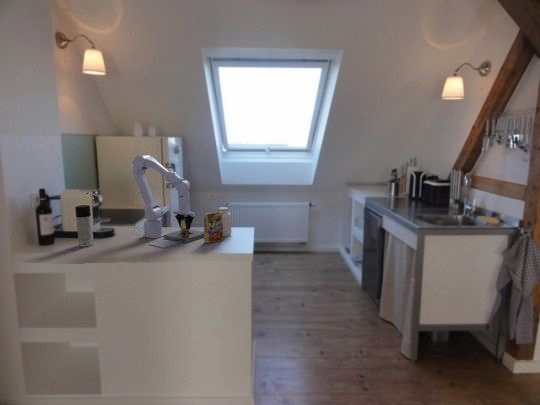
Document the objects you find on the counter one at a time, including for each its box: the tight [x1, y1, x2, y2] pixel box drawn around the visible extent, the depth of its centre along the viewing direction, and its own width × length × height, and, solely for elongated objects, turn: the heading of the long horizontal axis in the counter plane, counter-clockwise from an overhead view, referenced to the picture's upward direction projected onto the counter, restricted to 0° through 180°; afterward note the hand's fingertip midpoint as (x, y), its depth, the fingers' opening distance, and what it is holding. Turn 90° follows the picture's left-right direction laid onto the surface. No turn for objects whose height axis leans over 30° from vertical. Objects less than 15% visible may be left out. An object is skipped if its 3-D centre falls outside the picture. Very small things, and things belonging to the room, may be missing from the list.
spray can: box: [74, 204, 94, 248], centre depth 188 cm, size 7×7×20 cm
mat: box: [149, 239, 180, 249], centre depth 191 cm, size 10×10×1 cm
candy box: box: [203, 210, 224, 244], centre depth 194 cm, size 9×4×15 cm, turn 123°
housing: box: [163, 228, 204, 244], centre depth 203 cm, size 16×16×2 cm
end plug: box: [180, 219, 190, 236], centre depth 202 cm, size 4×4×8 cm
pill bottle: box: [218, 206, 232, 237], centre depth 207 cm, size 8×8×15 cm
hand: (185, 228), depth 202 cm, fingers closed on end plug, 4 cm apart
